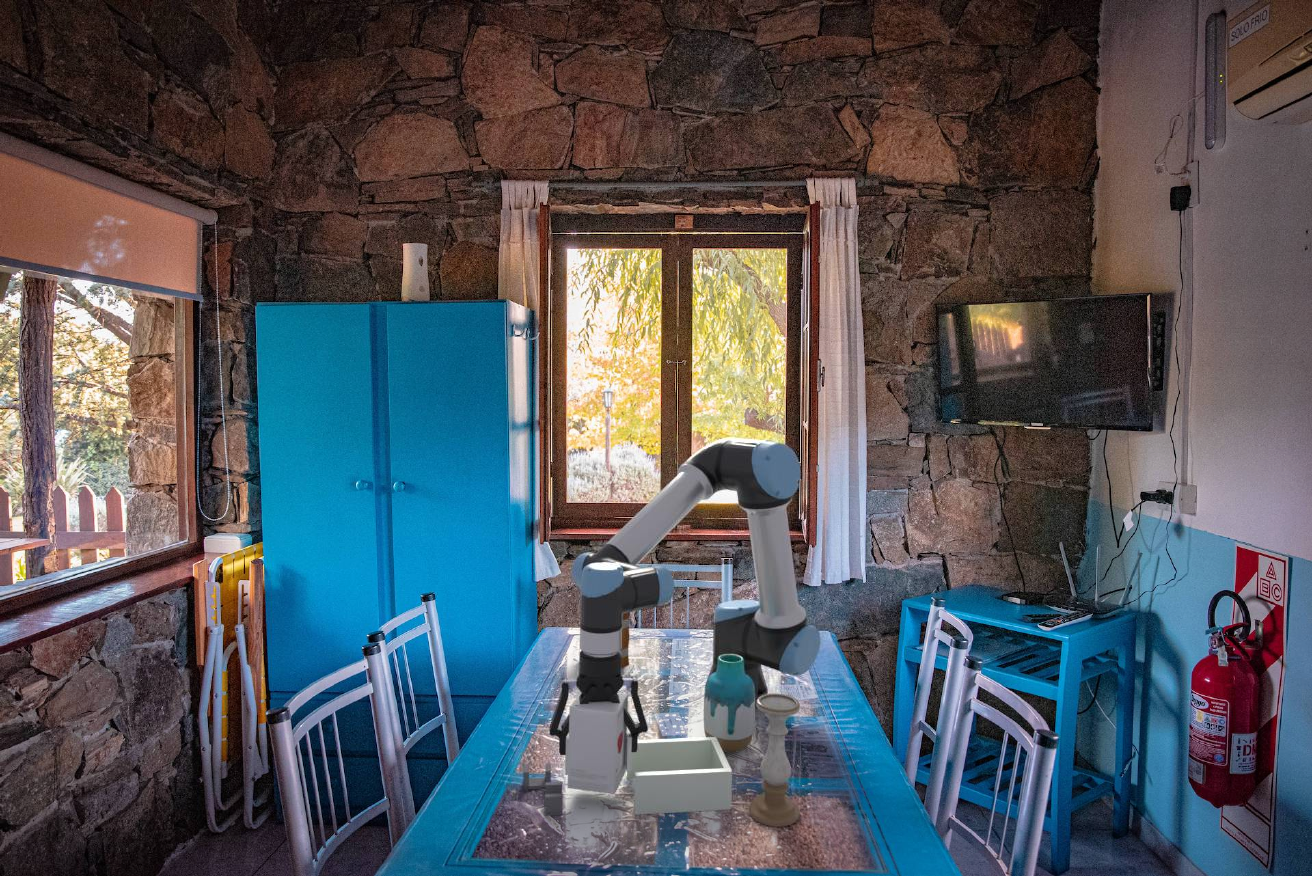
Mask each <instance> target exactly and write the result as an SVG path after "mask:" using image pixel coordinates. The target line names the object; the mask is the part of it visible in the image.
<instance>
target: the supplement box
mask: <svg viewBox="0 0 1312 876" xmlns="http://www.w3.org/2000/svg"><path fill="white" fill-rule="evenodd" d="M580 694H581V692H580ZM580 694H578V696H577V697H575V700H574V702H572V704H571V705H570V706H569V714H568V715H569V749H568V775H567V783H566V784H567V789H573V790H580V791H585V792H586V791H587V792H595V793H602V794H608V795H609V794H610V795H615V794H616V793H617V790H618V788H619V786H620V785H621V783H622V780H623V778H624V776H625V774H626V773H627V771H626V766H625V758H626V731H628V728H627V726H626V724H625V723H624V721H623V720H624V709H623V708H625V709H627V711H628V709H629V693H625V692H618V693H617V694H618V696H619V700H620V703H612V702H611V701H608V702H589V703H588V704H580V701H579V696H580ZM628 712H629V711H628Z"/></svg>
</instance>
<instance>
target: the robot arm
mask: <svg viewBox="0 0 1312 876" xmlns="http://www.w3.org/2000/svg"><path fill="white" fill-rule="evenodd" d="M801 473H802V472H801V465H800V461H799V459H798V457H797V454H796V453H795V452H794V450H793V449H792V448H791V447H789V446H788V445H787V444H785V443H782V442H777V441H773V440H769V439H768V440H767V439H765V440H763V439H762V440H761V439H749V438H737V437H725V438H720V439H718V440H715V441H713V442H711V443H709V444H707V445H706V446H704V447H702V448H700V450H698V451H695V453H693V454H692V455H691V456H690V457H689V458H687V460H685V461H684V462H683V463H682V464H681V465H680V466H679V467H678V469H677V475H676V476H675V477H674V478H673V479H671V481H670V482H668V484H667V485H666V486H664V487H663V488H662V489H661V490H660V491H659V492H658V493H657V494H656V495H655V496H654V497H653V498H652V499H651V500H650V501H649V502H648V503H647V504H646V505H645V506H644V507H642V509H640V511H638V512H637V513H636V514H635V515H634V516H633V517H632V518H631V519H630V520H629V521H628V522H627V523H626V524H625V525H624V526H623V527H622V528H621V529H619V530H618V531H617V532H616V533H615V534H614V535H613V536H612V537H611V538H610V539H609V540H608V541H607V542H606V543H605V544H604V545H603V546H602V547H601V548H600V549H599V550H598V551H597V552H584V553H581V554H579V555H577V557H576V558H575V559H574V561H573V563H572V567H571V578H572V580H573V583H574V584H575V585H576V586H577V587H578V588H579V592H580V594H579V595H580V600H579V601H580V604H579V606H580V611H579V612H580V617H579V618H580V619H579V620H580V621H579V622H580V623H579V625H580V626H579V649H580V651H579V659H578V660H579V661H578V668H579V669H578V676H577V677H576V678H575V679H573V678H572V679H568V678H567V677H563V678H562V679H561V691H560V694H559V696H558V701H557V703H556V705H555V709H554V712H553V716H552V717H551V720H550V723H549V728H548V729H549V735H550V736H551V737H554V736H555V737H557V738H558V754H559V756H565V758H564V776H568V749H569V714H568V715H567V716H566V718H565V719H564V721H563V723H562V724H561V726H560V723H561V720H562V717H563V715H564V712H565V709H566V705H567V702H568V700H569V694H571V693H573V692H574V689H575V688H576V687H577V689H578V691H580V693H581V694H579V695H580V696H579V695H578V696H579V701H580V704H588V703H589V702H608V701H611V702H612V703H620V700H619V696H618V694H617V693H619V692H620V690H621V689H622V688H623V686H625V688H626V691H628V692H630V696H631V699H632V702H633V705H634V709H635V712H636V716H637V719H638V723H636V722H635V721H634V719H633V718H632V716H631V714H630V713H629V711H627V709H625V708H623V709H624V720H623V721H624V723H625V724H626V726H627V731H626V758H625V766H626V773H627V772H631V752H637V745H638V740H639V735H640V734H641V733H647V732H648V731H649V727H648V724H647V720H646V717H645V713H644V710H643V707H642V703H641V699H640V696H639V693H638V692H639V681H638V678H637V676H635V675H632V676H630V678H629V677H623V676H622V668H621V652H620V649H621V648H622V618H623V614H624V613H629V612H630V613H632V612H637V611H642V610H646V609H651V608H653V609H654V608H657V607H658V606H661V605H664V604H666V603H669V601H671V599H672V598H673V596H674V593H675V579H674V577H673V575H672V573H671V571H670V570H669V569H668V568H667V567H666V566H663V565H660V564H659V565H658V564H655V565H653V564H651V565H650V564H649V565H648V566H639V565H638V564H639V563H640V562H641V561H642V560H643V559H644V558H645V557H646V556H647V555H648V554H649V553H650V552H651V551H652V550H653V549H654V548H655V547H656V546H657V545H658V544H659V543H660V542H661V541H662V540H663V539H664V538H665V537H666V536H667V535H668V534H669V533H670V532H671V531H672V530H673V529H674V528H675V527H676V526H677V525H678V524H680V522H681V521H682V520H683V519H684V518H685V517H686V516H687V515H688V514H689V513H690V512H691V511H692V510H693V509H694V508H695V507H696V506H697V505H698V504H699V503H700V502H701V501H707V500H708V499H711V497H713V495H714V494H716V493H717V492H720V491H731V492H732V491H734V492H736V495H737V501H738V507H739V508H741V509H742V510H743V511H745V512H746V516H747V523H748V524H747V525H748V530H749V531H748V532H749V539H750V545H751V551H752V559H753V565H754V566H753V567H754V573H755V581H756V588H757V595H758V600H754V599H735V600H728V601H723V602H721V603H719V604H718V605H716V607H715V609H714V617H713V621H712V623H713V626H712V627H713V630H712V631H713V632H712V633H713V634H712V635H713V637H712V638H713V639H712V641H713V642H712V665H711V668H710V670H709V673H708V676H707V678H706V681H705V685H704V687H705V686H706V682H707V679H708V677H709V676H710V675H711V674H713V673H715V672H716V670H717V663H718V657H719V656H721V655H724V654H735V655H739V656H741V657H743V659H744V671H745V674H746V675H748V676H749V677H750V678H751V679H752V681H753V683H754V687H755V708H757V706H756V701H757V699H758V697H760V696H762V695H765V694H769V693H768V692H769V690H768V685H767V682H766V679H765V675H764V672H763V668H762V666H764V667H766V668H769V669H771V670H772V669H773V670H775V671H778V672H780V673H781V674H788V675H791V676H795V677H796V676H802V675H804V674H806V673H807V672H808V671H809V670H810V669H811V668H812V666H813V665H814V664H815V662H816V659H817V657H818V655H819V652H820V649H821V648H820V647H821V641H822V640H821V633H820V631H819V630H818V628H817V627H815V626H814V625H812V624H809V623H808V618H807V612H806V609H805V608H804V607H803V606H802V605H801V604H799V599H798V592H797V583H796V575H795V566H794V560H793V559H794V558H793V552H792V543H791V535H790V527H789V519H788V511H787V507H788V505H790V503H791V502H792V501H793V495H794V494H796V492H797V491H798V488H799V486H800V485H799V481H801V475H802V474H801Z"/></svg>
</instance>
